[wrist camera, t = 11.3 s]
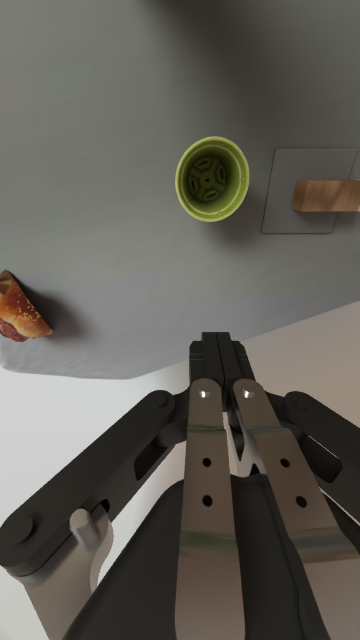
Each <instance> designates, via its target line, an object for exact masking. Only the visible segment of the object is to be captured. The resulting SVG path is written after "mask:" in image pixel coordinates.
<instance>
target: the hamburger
mask: <svg viewBox="0 0 360 640" xmlns="http://www.w3.org/2000/svg"><path fill="white" fill-rule="evenodd" d="M52 332H53V331H52V329H50V328H49V326H48V325H47V324H46V322H45V321H44V320H43V319H42V317H41V316H40V315H39V313H38V312H37V311H36V309H35V308H34V307H33V305H32V304H31V303H30V301H29V300H28V299H27V297H26V296H25V295H24V293H23V292H22V291H21V289H20V288H19V285H18V284H17V283H16V281H15V280H14V279H13V277H12V276H11V275H10V273H9V272H8V271H7V270H4V271H3V272H2V273H1V274H0V333H1V334H2V335H3V336H4V337H7V338H11V339H12V340H14V341H17V342H24V341H25V340H27V339H28V338H33V339H34V338H41V337H43V336H46V335H50V334H52Z"/></svg>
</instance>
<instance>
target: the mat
mask: <svg viewBox="0 0 360 640" xmlns="http://www.w3.org/2000/svg"><path fill="white" fill-rule="evenodd" d="M357 150H358V148H276V149H275V153H274V159H273V165H272V171H271V177H270V183H269V189H268V195H267V200H266V206H265V212H264V218H263V224H262V230H261V233H331V231H332V228H333V225H334V222H335V219H336V216H337V213H338V211H298V210H296V209H293V208H291V206H292V201H293V197H294V192H295V188H296V183H297V180H348V178H349V175H350V172H351V169H352V166H353V163H354V160H355V157H356V153H357Z"/></svg>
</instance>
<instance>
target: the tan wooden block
mask: <svg viewBox="0 0 360 640" xmlns="http://www.w3.org/2000/svg"><path fill="white" fill-rule="evenodd" d="M291 208H293V209H296V210H298V211H360V180H355V179H354V180H297V183H296V188H295V192H294V197H293V201H292V206H291Z"/></svg>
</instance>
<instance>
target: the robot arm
mask: <svg viewBox="0 0 360 640" xmlns="http://www.w3.org/2000/svg"><path fill="white" fill-rule="evenodd" d="M189 378H190V386H189V387H188V388H187V389H186V390H185V391H184V392H182V393H179V394H176V395H172V394H171V393H169V392H168V391H164V390H156V391H153V392H151V393H149V394H148V395H147V396H145V397H144V398H143V399H142V400H141V401H140V402H139V403H137V405H135V406H134V407H133V408H132V409H131V410H130V411H128V412H127V413H126V414H125V415H124V416H123V417H122V418H120V419H119V420H118V421H117V422H116V423H115V424H114V425H112V426H111V427H110V428H109V429H108V430H107V431H106V432H104V433H103V434H102V435H101V436H100V437H99V438H97V439H96V440H95V441H94V442H93V443H92V444H91V445H90V446H88V447H87V448H86V449H85V450H84V451H83V452H81V453H80V454H79V455H78V456H77V457H76V458H75V459H74V460H72V461H71V462H70V463H69V464H68V465H67V466H66V467H64V468H63V469H62V470H61V471H60V472H59V473H58V474H56V475H55V476H54V477H53V478H52V479H51V480H50V481H48V482H47V483H46V484H45V485H44V486H43V487H42V488H40V489H39V490H38V491H37V492H36V493H35V494H34V495H32V496H31V497H30V498H29V499H28V500H27V501H26V502H25V503H24V504H22V505H21V506H20V507H19V508H18V509H16V510H15V511H14V512H13V513H12V514H11V515H10V516H9V517H8V518H7V519H6V520H5V522H4V523H3V525H2V526H1V528H0V565H1V566H2V567H4V568H5V569H6V570H7V572H8V573H9V574H10V575H11V576H12V577H14V578H15V579H16V580H18V581H19V582H21V583H22V584H23V585H24V587H25V589H26V591H27V594H28V596H29V598H30V600H31V602H32V604H33V606H34V608H35V610H36V612H37V615H38V617H39V619H40V621H41V623H42V625H43V627H44V629H45V631H46V634H47V636H48V638H49V640H360V526H359V525H358V524H357V523H356V522H355V521H354V520H352V518H350V517H349V516H348V515H347V514H346V513H345V512H344V511H343V510H342V509H341V508H340V507H339V506H338V505H337V504H336V503H334V502H333V501H332V500H331V499H330V498H329V497H328V496H327V495H325V494H324V493H323V492H321V490H320V488H321V489H322V490H323V491H325V492H326V493H327V494H328V495H329V496H330V497H331V498H332V499H334V500H335V501H336V502H337V503H338V504H339V505H340V506H341V507H343V508H344V509H345V510H346V511H347V512H348V513H349V514H350V515H351V516H353V517H354V518H355V519H356V520H357V521H358V522H359V523H360V428H359V427H357V426H356V425H354V424H352V423H351V422H349V421H348V420H346V419H345V418H343V417H342V416H340V415H339V414H337V413H336V412H334V411H333V410H331V409H329V408H328V407H326V406H325V405H323V404H322V403H320V402H319V401H317V400H316V399H314V398H313V397H311V396H309V395H308V394H305V393H303V392H298V391H292V392H289V393H287V394H286V396H285V397H282V396H278V395H275V394H271V393H268V392H266V391H265V390H264V389H263V387H262V386H261V385H260V384H259V383H258V382H256V380H255V377H254V374H253V371H252V369H251V366H250V363H249V360H248V357H247V355H246V351H245V348H244V346H243V345H242V344H241V343H240V342H239V341H231V338H230V334H229V332H202V337H201V341H193V342H192V344H191V345H190V350H189ZM223 412H227V416H228V422H227V428H228V432H229V437H230V440H231V444H232V448H233V452H234V456H235V460H236V464H237V472H238V476H235V475H232V474H230V468H229V456H228V445H227V434H226V430H225V429H224V423H223ZM309 436H311V437H312V438H313V439H314V440H316V441H317V442H318V443H320V444H321V445H322V446H324V447H325V448H326V449H327V450H329V451H330V452H331V453H333V454H334V455H335V456H336V457H338V458H339V459H338V458H336V457H335V456H334V455H333V454H331V453H330V452H329V451H327V450H326V449H325V448H323V447H322V446H321V445H320V444H318V443H317V442H316V441H314V440H313V439H312V438H310V437H309ZM186 440H187V441H186ZM183 441H186V457H185V473H184V479H183V480H180V481H178V482H176V483H175V484H173V485H172V486H170V487H169V488H168V489H167V490H166V491H165V492H164V493H163V494H162V495H161V496H160V498H159V499H158V500H157V502H156V503H155V505H154V506H153V507H152V509H151V510H150V512H149V513H148V515H147V516H146V517H145V519H144V520H143V522H142V523H141V525H140V526H139V527H138V529H137V530H136V532H135V533H134V535H133V536H132V538H131V539H130V540H129V542H128V543H127V545H126V547H125V548H124V549H123V550H122V552H121V553H120V555H119V556H118V558H117V559H116V561H115V562H114V563H113V565H112V566H111V568H110V569H109V571H108V572H107V573H106V575H105V576H104V578H103V579H102V581H101V582H100V583H99V585H98V586H97V581H98V576H99V572H100V569H101V566H102V564H103V562H104V561H105V559H106V557H107V556H108V554H109V552H110V550H111V547H112V543H113V536H114V535H113V528H112V525H111V522H112V521H113V520H114V519H115V518H116V516H117V515H118V514H119V513H120V512H121V511H122V509H123V508H124V507H125V506H126V504H127V503H128V502H129V501H130V500H131V499H132V497H133V496H134V495H135V494H136V492H137V491H138V490H139V489H140V488H141V486H142V485H143V484H144V483H145V482H146V480H147V479H148V478H149V477H150V476H151V474H152V473H153V472H154V471H155V470H156V468H157V467H158V466H159V465H160V464H161V462H162V461H163V460H164V459H165V458H166V456H167V455H168V454H169V453H170V452H171V450H172V449H173V448H174V446H175V444H178V443H181V442H183ZM319 487H320V488H319Z"/></svg>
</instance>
